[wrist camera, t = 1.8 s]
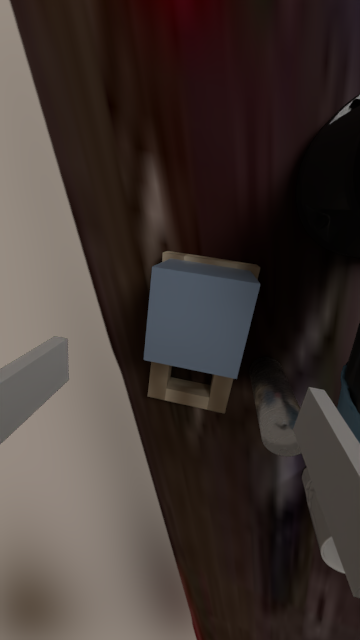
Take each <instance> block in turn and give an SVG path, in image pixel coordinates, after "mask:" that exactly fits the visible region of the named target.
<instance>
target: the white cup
mask: <svg viewBox="0 0 360 640" xmlns="http://www.w3.org/2000/svg"><path fill="white" fill-rule="evenodd" d="M302 481H303V485H304V488H305V493H306V499H307V503H308V508H309V512H310V516H311V519H312V523H313V527H314V530H315V534H316V538H317V542H318V545H319V549H320V553H321V556H322V558H323V560H324V561H325V563H326V564H327V565H328V566H330V567H331V568H333V569H334V570H336V571H339V572H341V573H344V574H345V572H344V569H343V566H342V563H341V561H340V558H339V555H338V552H337V549H336V547H335V544H334V541H333V538H332V536H331V533H330V530H329V527H328V525H327V522H326V519H325V516H324V514H323V511H322V508H321V505H320V503H319V500H318V497H317V494H316V492H315V489H314V486H313V483H312V481H311V478H310V475H309V472H308V470H307V467H306V468H305V469H304V470H303V474H302Z"/></svg>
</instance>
